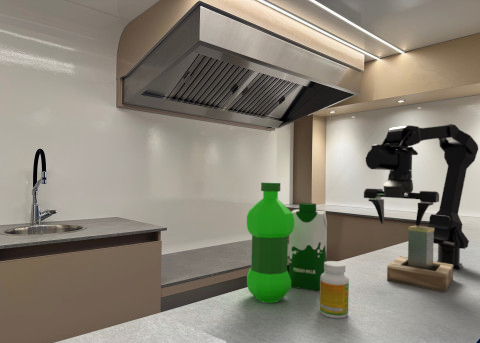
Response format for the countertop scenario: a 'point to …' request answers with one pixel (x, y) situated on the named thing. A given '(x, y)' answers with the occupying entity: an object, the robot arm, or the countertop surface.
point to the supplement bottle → (334, 290)
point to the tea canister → (420, 247)
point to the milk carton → (307, 247)
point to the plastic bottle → (269, 246)
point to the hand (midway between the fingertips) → (399, 225)
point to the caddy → (420, 275)
